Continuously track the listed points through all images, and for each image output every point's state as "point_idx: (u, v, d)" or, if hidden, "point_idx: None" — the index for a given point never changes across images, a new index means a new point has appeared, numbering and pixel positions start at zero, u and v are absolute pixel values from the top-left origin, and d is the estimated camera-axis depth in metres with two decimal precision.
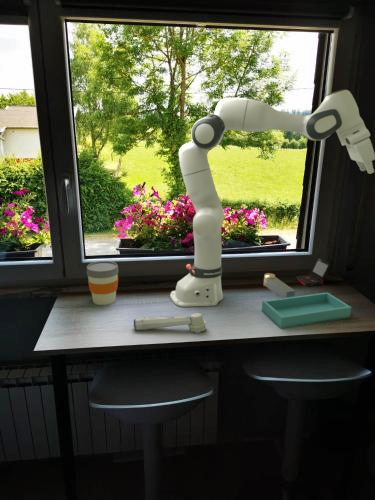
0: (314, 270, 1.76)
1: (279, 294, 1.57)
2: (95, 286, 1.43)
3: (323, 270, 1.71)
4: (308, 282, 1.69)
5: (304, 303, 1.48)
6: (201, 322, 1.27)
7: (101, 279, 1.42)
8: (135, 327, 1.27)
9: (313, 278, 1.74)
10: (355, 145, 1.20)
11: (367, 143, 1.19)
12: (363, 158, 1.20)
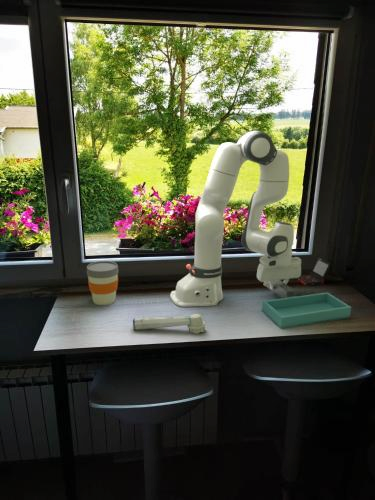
0: (314, 270, 1.77)
1: (279, 294, 1.57)
2: (95, 286, 1.43)
3: (323, 270, 1.71)
4: (309, 282, 1.69)
5: (304, 303, 1.48)
6: (200, 323, 1.27)
7: (101, 279, 1.42)
8: (134, 327, 1.28)
9: (313, 278, 1.74)
10: (259, 264, 1.57)
11: (261, 268, 1.54)
12: None
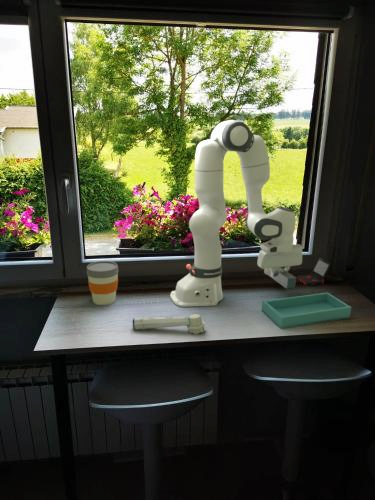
0: (315, 269, 1.77)
1: (280, 281, 1.55)
2: (95, 286, 1.43)
3: (324, 269, 1.72)
4: (309, 281, 1.70)
5: (304, 303, 1.48)
6: (200, 323, 1.26)
7: (101, 279, 1.42)
8: (134, 326, 1.28)
9: (314, 277, 1.74)
10: None
11: (262, 255, 1.52)
12: (257, 262, 1.56)
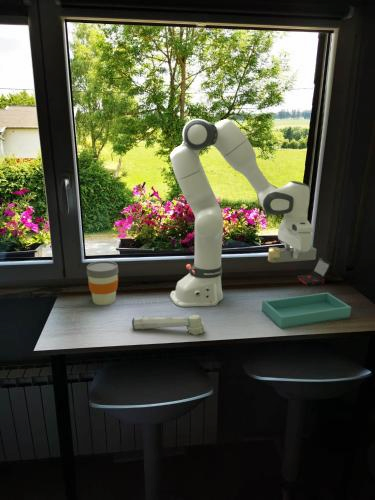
0: (315, 269, 1.77)
1: (304, 258, 1.49)
2: (95, 286, 1.43)
3: (324, 269, 1.72)
4: (309, 281, 1.70)
5: (304, 303, 1.48)
6: (199, 324, 1.26)
7: (101, 279, 1.42)
8: (133, 326, 1.28)
9: (314, 277, 1.75)
10: (300, 234, 1.37)
11: (309, 237, 1.38)
12: (302, 247, 1.38)
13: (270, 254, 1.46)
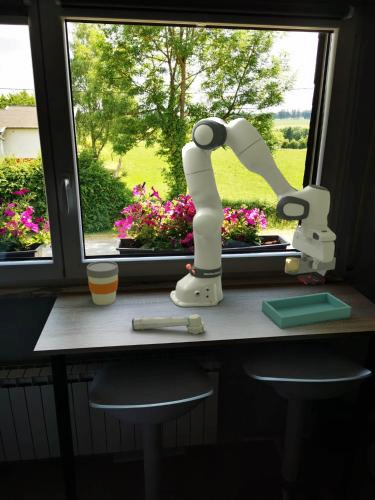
0: None
1: (323, 267, 1.37)
2: (95, 286, 1.43)
3: None
4: (309, 281, 1.70)
5: (304, 303, 1.48)
6: (199, 323, 1.26)
7: (101, 279, 1.42)
8: (133, 326, 1.28)
9: (314, 277, 1.75)
10: (323, 243, 1.25)
11: (332, 246, 1.26)
12: (325, 258, 1.26)
13: (288, 265, 1.33)
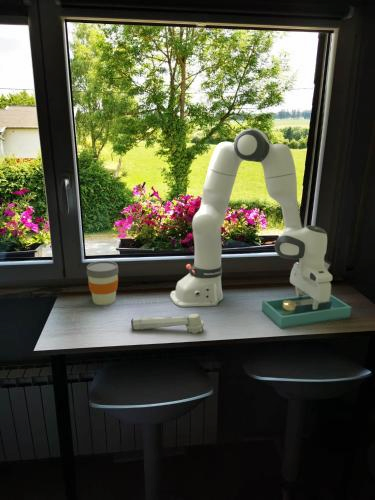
0: None
1: (319, 310, 1.41)
2: (95, 286, 1.43)
3: None
4: None
5: None
6: (198, 323, 1.27)
7: (101, 279, 1.42)
8: (132, 327, 1.28)
9: None
10: (319, 284, 1.28)
11: (328, 287, 1.29)
12: (321, 298, 1.29)
13: (285, 309, 1.37)
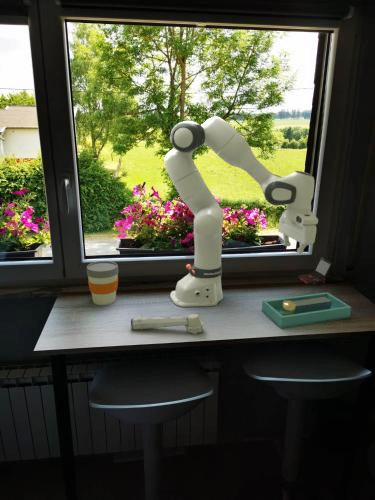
0: (317, 269, 1.77)
1: (319, 310, 1.41)
2: (95, 286, 1.43)
3: (325, 269, 1.72)
4: (310, 281, 1.71)
5: None
6: (198, 323, 1.27)
7: (101, 279, 1.42)
8: (132, 326, 1.28)
9: (316, 277, 1.75)
10: (305, 226, 1.31)
11: (314, 229, 1.32)
12: (306, 240, 1.32)
13: (285, 309, 1.37)
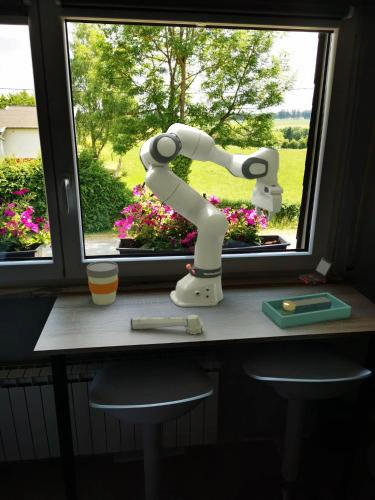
0: (317, 269, 1.78)
1: (319, 310, 1.41)
2: (95, 286, 1.43)
3: (326, 269, 1.72)
4: (310, 280, 1.71)
5: None
6: (197, 324, 1.26)
7: (101, 279, 1.42)
8: (132, 326, 1.28)
9: (316, 277, 1.75)
10: (272, 195, 1.48)
11: (280, 198, 1.49)
12: (273, 208, 1.49)
13: (285, 309, 1.37)
